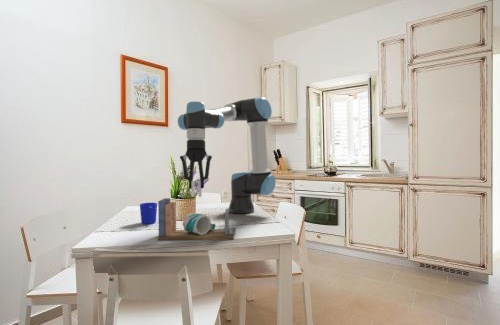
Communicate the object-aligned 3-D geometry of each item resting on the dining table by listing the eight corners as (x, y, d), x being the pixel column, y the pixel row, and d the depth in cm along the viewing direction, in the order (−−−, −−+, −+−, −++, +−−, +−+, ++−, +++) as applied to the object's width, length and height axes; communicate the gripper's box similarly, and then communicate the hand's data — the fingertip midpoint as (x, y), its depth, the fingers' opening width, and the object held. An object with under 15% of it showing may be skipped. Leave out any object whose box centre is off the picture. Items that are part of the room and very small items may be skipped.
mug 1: (142, 227, 136) (141, 206, 136) (139, 223, 146) (138, 203, 146) (160, 225, 139) (159, 205, 139) (155, 221, 150) (155, 202, 150)
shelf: (166, 232, 126) (165, 197, 126) (234, 231, 126) (234, 197, 126) (157, 240, 114) (157, 201, 114) (233, 239, 114) (233, 201, 114)
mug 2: (185, 211, 121) (198, 213, 115) (207, 215, 129) (219, 218, 124) (180, 230, 119) (193, 234, 113) (202, 234, 127) (215, 237, 122)
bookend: (226, 229, 125) (226, 208, 125) (235, 229, 125) (235, 208, 125) (225, 234, 116) (224, 212, 116) (235, 234, 116) (234, 212, 116)
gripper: (175, 139, 116) (176, 197, 116) (213, 138, 116) (213, 197, 116) (179, 140, 123) (180, 195, 124) (215, 140, 124) (215, 195, 124)
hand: (196, 196), depth 120 cm, fingers open, 2 cm apart
